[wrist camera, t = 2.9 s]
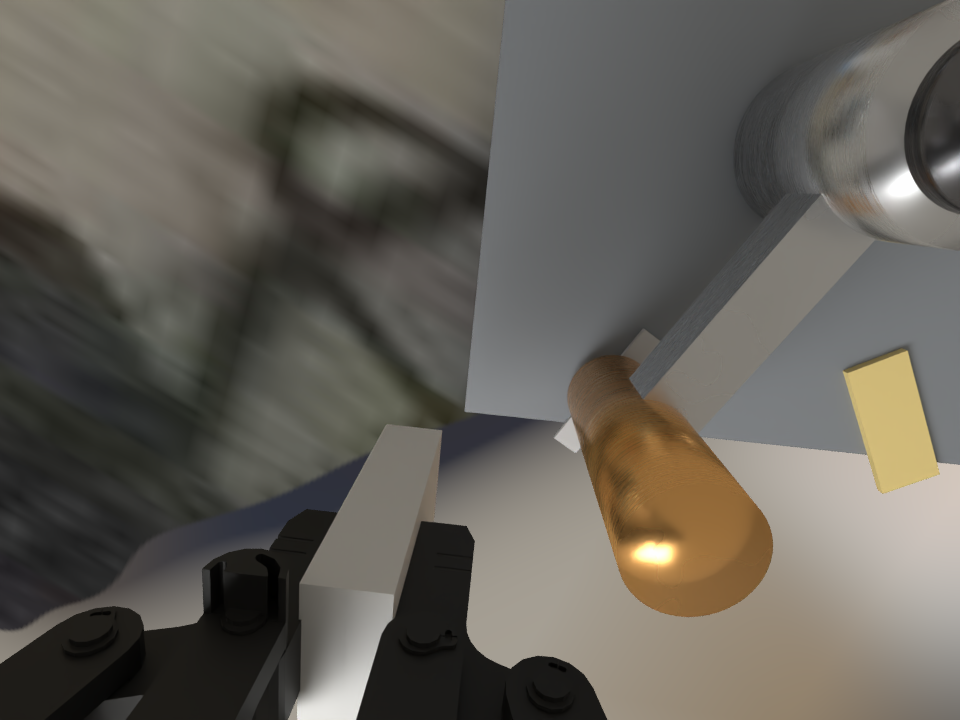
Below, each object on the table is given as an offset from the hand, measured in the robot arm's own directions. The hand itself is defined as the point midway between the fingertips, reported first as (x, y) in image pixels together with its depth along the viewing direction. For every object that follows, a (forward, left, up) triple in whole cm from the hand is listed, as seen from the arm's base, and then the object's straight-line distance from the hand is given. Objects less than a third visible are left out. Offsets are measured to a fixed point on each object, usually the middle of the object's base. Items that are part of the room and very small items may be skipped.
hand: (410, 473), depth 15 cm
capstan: (+9, +6, -5) cm, 12 cm away
